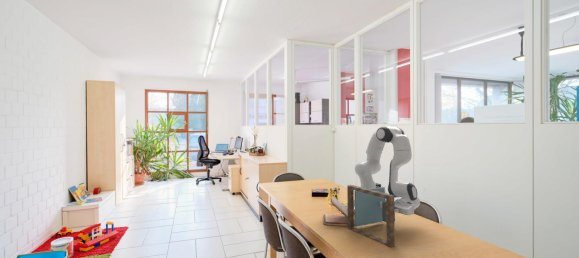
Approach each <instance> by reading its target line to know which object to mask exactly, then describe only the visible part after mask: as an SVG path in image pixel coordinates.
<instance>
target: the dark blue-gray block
mask: <svg viewBox="0 0 579 258" xmlns="http://www.w3.org/2000/svg"><path fill="white" fill-rule="evenodd" d="M394 209H395V201H394ZM382 220H383V221H382V222H384V223H386V200H385V201H383V202H382ZM394 222H396V212H394Z"/></svg>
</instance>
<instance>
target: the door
mask: <svg viewBox="0 0 579 258" xmlns="http://www.w3.org/2000/svg"><path fill="white" fill-rule="evenodd" d="M385 187H386V186H385ZM385 187H384V186H381V187H379V188H371V189H370V190H374V191H378V192H382V193H385V192H386V190H385V189H386V188H385ZM354 200H355V211H354V221H355V222H354V227H355V228H357V227H362V226H365V225H366V226H367V225H372V224H377V223H381V222H382V223H383V222H384V221H383V220H382V208H380V202H382V201H386V199H385V198H382V197H378V196H374V195H370V194H366V193H363V192H359V191H355V190H354Z"/></svg>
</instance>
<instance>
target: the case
mask: <svg viewBox="0 0 579 258" xmlns="http://www.w3.org/2000/svg"><path fill="white" fill-rule="evenodd" d="M330 202H331V204H332V206H334V208H336V209H337V210H338V211H339V212H340V213H324V214H323V223H322V224H323V225H324V226H336V227H337V226H339V227H340V226H341V227H348V207H346V206H345V205H344V204H343V203H342V202H341V201H340V200H339V199H337V198H336V197H335V196H334V195H330ZM354 223H355V220H354Z"/></svg>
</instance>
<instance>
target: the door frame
mask: <svg viewBox="0 0 579 258" xmlns="http://www.w3.org/2000/svg"><path fill="white" fill-rule="evenodd" d="M346 188H347V189H346V191H347V197H346V198H347V209H348V226H347V229H349V230H351V231H353V232H355V233H357V234H360V235H362V236H365V237H367V238H369V239H372V240H373V241H376V242H378V243H380V244H383V245H385V246H387V247H390V248H393V247H396V244H395V243H396V242H395V240H396V239H395V234H396V233H395V230H396V229H395V221H394V202H395V198H394V195H390V194H389V193H382V192H378V191H374V190H370V189H366V188H362V187H361V186H357V185H354V184H348V185H347V187H346ZM355 191H359V192H363V193H366V194H370V195H374V196H378V197H382V198H385V201H386V222H385V223H386V225H385V229H386V232H385V233H386V239H383V238H381V237H379V236H376V235H374V234H372V233H369V232H367V231H364V230H362V229H360V228H357V227H356V226H355V222H354V221H355V211H354V200H355Z"/></svg>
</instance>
